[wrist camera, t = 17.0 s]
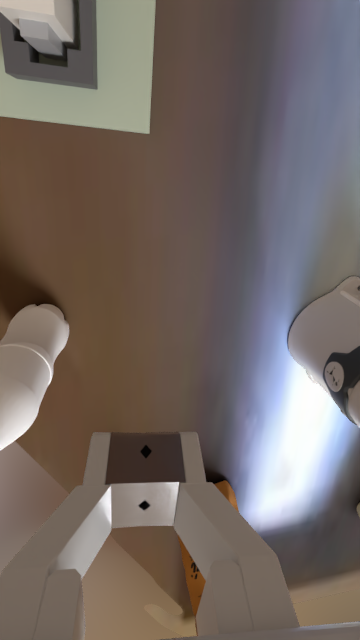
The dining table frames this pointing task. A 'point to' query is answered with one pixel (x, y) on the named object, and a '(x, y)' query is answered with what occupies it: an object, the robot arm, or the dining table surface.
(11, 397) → the water bottle
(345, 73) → the dining table surface
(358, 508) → the reusable coffee cup
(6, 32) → the socket board
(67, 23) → the keyed plug
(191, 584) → the coffee package
